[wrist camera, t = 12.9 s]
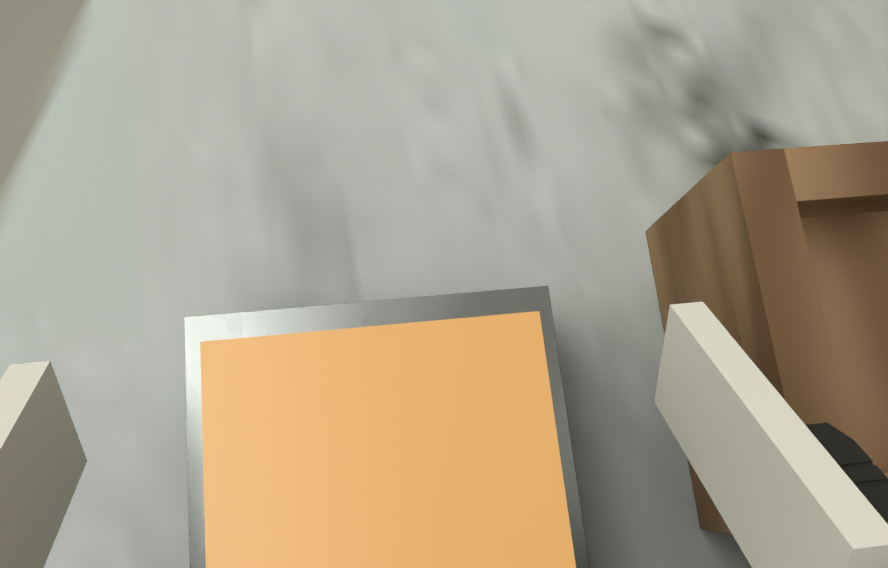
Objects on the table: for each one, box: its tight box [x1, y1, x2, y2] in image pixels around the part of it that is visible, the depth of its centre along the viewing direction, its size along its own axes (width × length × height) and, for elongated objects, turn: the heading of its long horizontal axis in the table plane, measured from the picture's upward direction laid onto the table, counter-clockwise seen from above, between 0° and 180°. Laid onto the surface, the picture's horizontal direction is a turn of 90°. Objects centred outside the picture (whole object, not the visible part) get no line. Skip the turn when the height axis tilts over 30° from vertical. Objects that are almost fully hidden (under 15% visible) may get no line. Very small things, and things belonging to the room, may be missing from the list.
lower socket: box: [185, 286, 589, 568], centre depth 21 cm, size 10×10×4 cm
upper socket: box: [646, 141, 888, 535], centre depth 22 cm, size 10×10×6 cm
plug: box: [200, 311, 576, 568], centre depth 16 cm, size 5×5×12 cm
